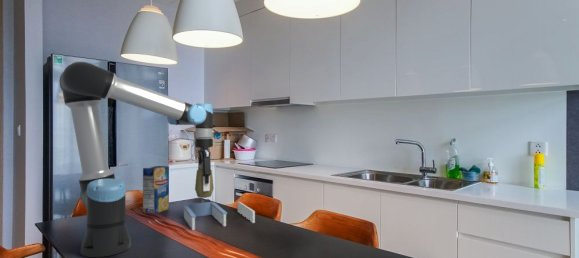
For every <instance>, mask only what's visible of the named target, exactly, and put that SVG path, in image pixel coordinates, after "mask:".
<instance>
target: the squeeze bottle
mask: <svg viewBox="0 0 579 258" xmlns="http://www.w3.org/2000/svg"><path fill="white" fill-rule="evenodd" d="M199 168H200V169H198V168H197V170H196V174H195V175H196V177H195V185H194V191H195V193H196V196H197V197H198V198H201V199H205V198H210V197H212V194H213V191H214V180H213V179H214V178H213V170H212V169H211V175H210V191H203V176H202V175H203V174H204V172H203V162H202V163H201V164H200V165H199Z"/></svg>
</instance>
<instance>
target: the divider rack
mask: <svg viewBox="0 0 579 258" xmlns="http://www.w3.org/2000/svg"><path fill="white" fill-rule="evenodd" d="M182 207H183V219H184V220H185V222H186V223H187V224H188V227H189V228H190V229H191V230H192V231H196V218H197V217H203V216H213V218H214V219H216V220H217V222H219V223H220V225H222V226H223V227H226V226H227V215H228V212H227V211H226V210H225V209H223V208H222V207H221V206H220V205H218V203H216V202H212V201H211V202H205V203H200V202H195V203H194V202H193V203H186V204H185V205H182ZM237 213H239V214H240V215H241V214H242V215H241V216H243V218H245V217H246V218H245V219H247V220H250V221H249V222H250V223H252V224H255V223H256V211H255V210H253V208H251V207H249V206H248V205H245V204H244V203H243V202H241V201H237Z"/></svg>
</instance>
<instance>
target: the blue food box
mask: <svg viewBox="0 0 579 258" xmlns="http://www.w3.org/2000/svg"><path fill="white" fill-rule="evenodd" d="M169 187H170V166H168V165H167V166H166V165H155V166H147V167H143V168H142V213H143V212H144V214H151V213H153V214H158V213H161V212H163V211H167V210H169V208H170V197H169V196H170V194H169V193H170V188H169Z"/></svg>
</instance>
